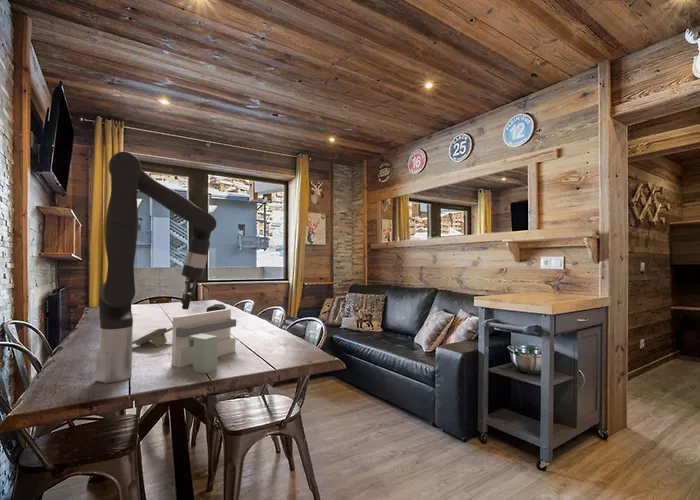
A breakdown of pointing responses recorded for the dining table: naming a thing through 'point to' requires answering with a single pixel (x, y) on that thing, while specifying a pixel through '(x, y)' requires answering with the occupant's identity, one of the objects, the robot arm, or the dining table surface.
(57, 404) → the dining table surface
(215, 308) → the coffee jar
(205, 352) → the sage cabinet
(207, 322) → the cleat board
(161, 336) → the olive slanted plate stand
